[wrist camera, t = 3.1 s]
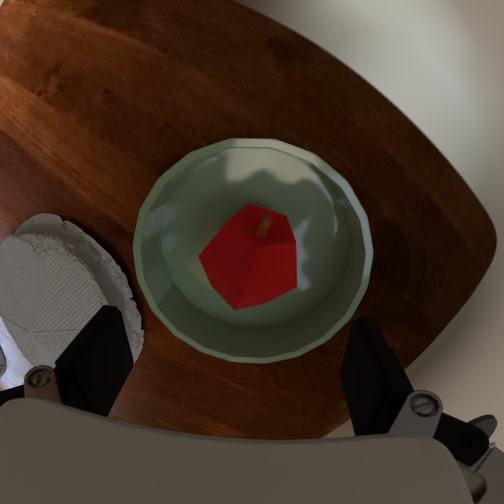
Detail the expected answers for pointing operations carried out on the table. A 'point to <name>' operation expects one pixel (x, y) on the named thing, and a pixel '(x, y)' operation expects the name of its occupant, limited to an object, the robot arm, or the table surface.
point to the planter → (2, 364)
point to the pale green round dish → (216, 216)
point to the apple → (252, 258)
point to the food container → (59, 288)
